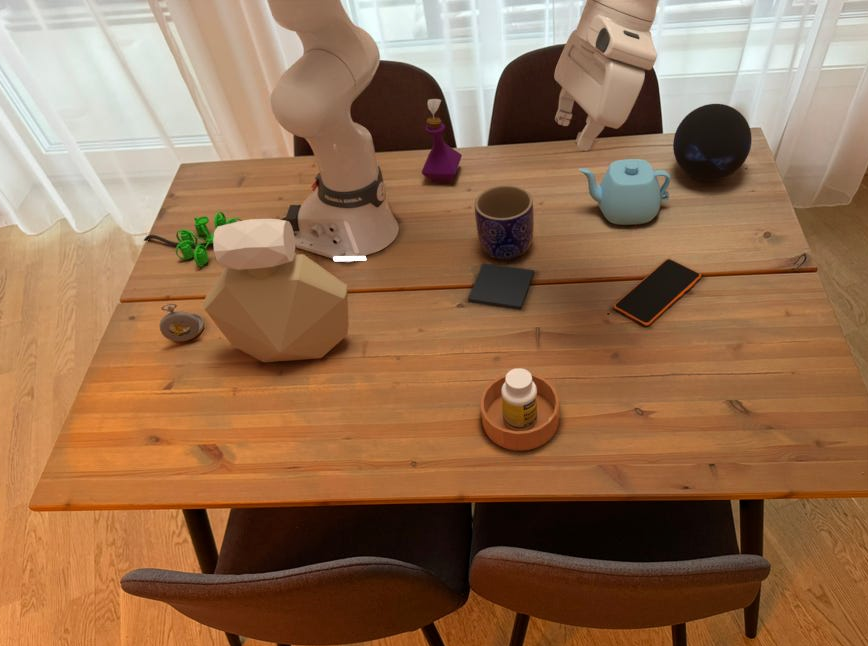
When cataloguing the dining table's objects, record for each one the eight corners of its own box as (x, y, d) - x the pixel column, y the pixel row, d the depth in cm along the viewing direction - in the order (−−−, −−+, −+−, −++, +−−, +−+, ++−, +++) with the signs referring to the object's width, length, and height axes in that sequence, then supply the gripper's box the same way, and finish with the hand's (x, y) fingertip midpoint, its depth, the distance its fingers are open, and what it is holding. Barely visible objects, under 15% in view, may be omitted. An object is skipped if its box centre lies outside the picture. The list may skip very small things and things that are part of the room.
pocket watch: (204, 313, 142) (184, 273, 134) (206, 339, 137) (186, 300, 129) (168, 322, 141) (147, 283, 133) (170, 350, 136) (147, 310, 128)
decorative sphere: (669, 153, 162) (677, 89, 151) (741, 154, 160) (755, 89, 149) (669, 195, 153) (678, 129, 142) (746, 197, 150) (761, 130, 139)
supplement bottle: (527, 436, 115) (525, 397, 108) (497, 423, 118) (493, 383, 110) (543, 412, 118) (542, 371, 111) (513, 399, 120) (511, 359, 113)
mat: (468, 301, 137) (467, 298, 137) (483, 266, 143) (483, 263, 143) (521, 309, 135) (520, 306, 134) (534, 273, 141) (534, 270, 140)
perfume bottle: (456, 187, 161) (447, 111, 148) (423, 185, 163) (411, 110, 149) (463, 167, 166) (455, 92, 153) (431, 165, 168) (420, 91, 154)
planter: (536, 264, 142) (535, 217, 134) (479, 268, 143) (474, 222, 135) (532, 228, 150) (531, 181, 141) (478, 232, 150) (473, 186, 142)
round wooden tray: (473, 442, 116) (471, 425, 113) (494, 384, 123) (492, 366, 120) (549, 457, 113) (549, 440, 110) (565, 397, 120) (566, 379, 117)
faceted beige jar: (235, 329, 138) (178, 206, 117) (363, 319, 137) (329, 192, 116) (222, 379, 130) (158, 256, 109) (359, 369, 128) (321, 242, 108)
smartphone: (612, 308, 132) (612, 305, 132) (667, 260, 139) (667, 257, 139) (647, 328, 128) (647, 324, 128) (702, 277, 136) (703, 274, 135)
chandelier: (194, 281, 148) (181, 254, 143) (167, 245, 157) (154, 218, 152) (262, 248, 153) (251, 221, 148) (232, 214, 162) (221, 188, 157)
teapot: (576, 149, 148) (669, 143, 146) (575, 193, 156) (663, 189, 154) (581, 186, 140) (679, 181, 138) (579, 231, 148) (672, 227, 146)
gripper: (566, 7, 103) (530, 105, 110) (617, 46, 87) (572, 157, 94) (605, 21, 105) (568, 116, 112) (663, 61, 89) (615, 169, 96)
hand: (570, 135), depth 103 cm, fingers open, 8 cm apart
